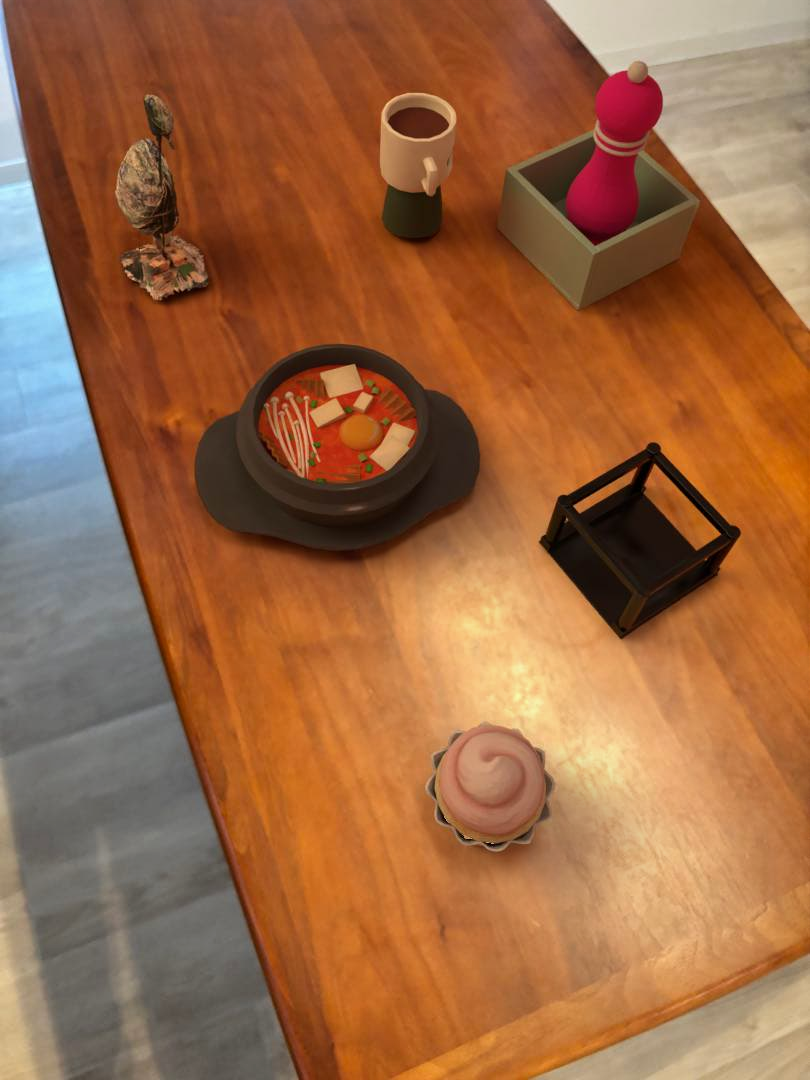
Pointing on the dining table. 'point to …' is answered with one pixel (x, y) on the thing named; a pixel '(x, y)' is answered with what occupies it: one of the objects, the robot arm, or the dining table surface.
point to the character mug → (415, 162)
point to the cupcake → (490, 786)
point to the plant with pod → (156, 213)
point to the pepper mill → (615, 155)
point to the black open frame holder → (633, 545)
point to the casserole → (336, 452)
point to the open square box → (563, 250)
